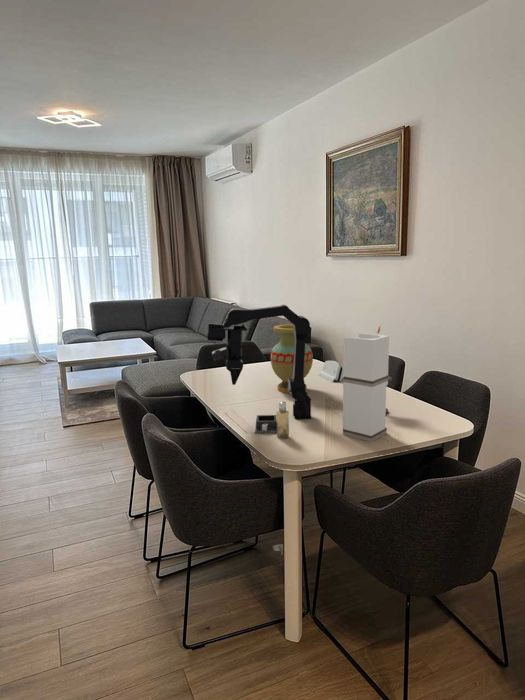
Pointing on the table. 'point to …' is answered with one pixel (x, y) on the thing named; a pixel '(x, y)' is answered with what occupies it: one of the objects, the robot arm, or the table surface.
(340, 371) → the hinge
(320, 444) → the table surface
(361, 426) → the white banded pillar
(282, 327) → the vase
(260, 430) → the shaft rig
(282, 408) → the gold perfume bottle
